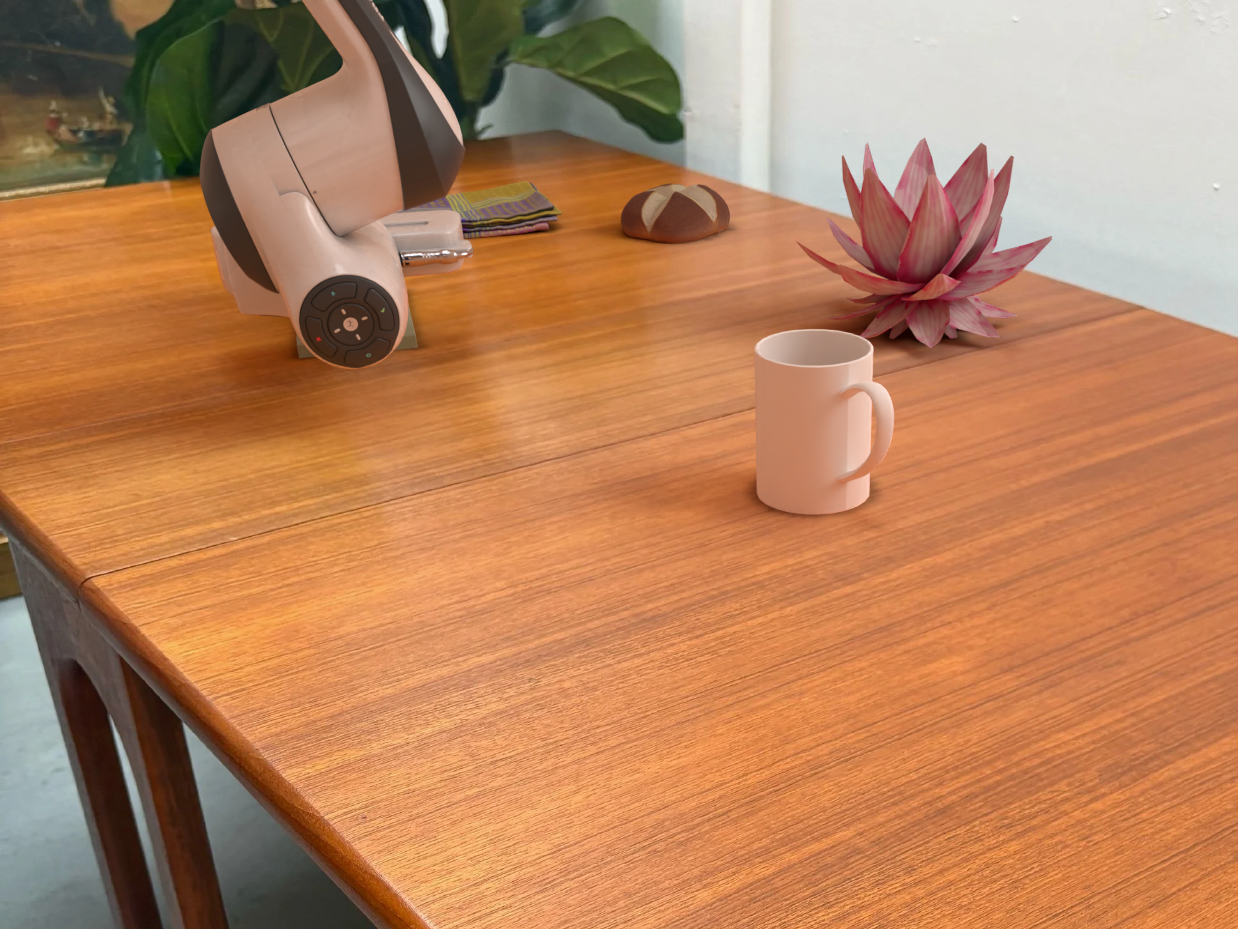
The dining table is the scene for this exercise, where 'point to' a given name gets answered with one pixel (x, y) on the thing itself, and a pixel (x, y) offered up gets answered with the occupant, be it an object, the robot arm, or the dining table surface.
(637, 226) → the bread
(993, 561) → the dining table surface
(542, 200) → the dish towel
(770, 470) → the mug
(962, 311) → the decorative flower
